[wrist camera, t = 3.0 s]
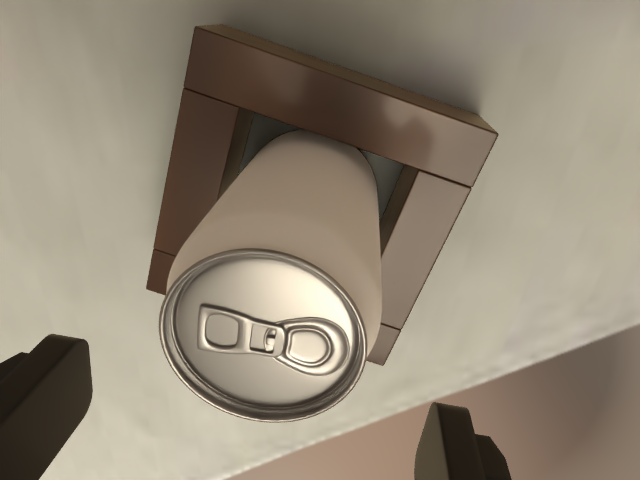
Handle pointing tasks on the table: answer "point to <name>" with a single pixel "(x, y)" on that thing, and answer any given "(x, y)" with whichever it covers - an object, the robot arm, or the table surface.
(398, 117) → the can stand
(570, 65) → the table surface
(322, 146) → the can
